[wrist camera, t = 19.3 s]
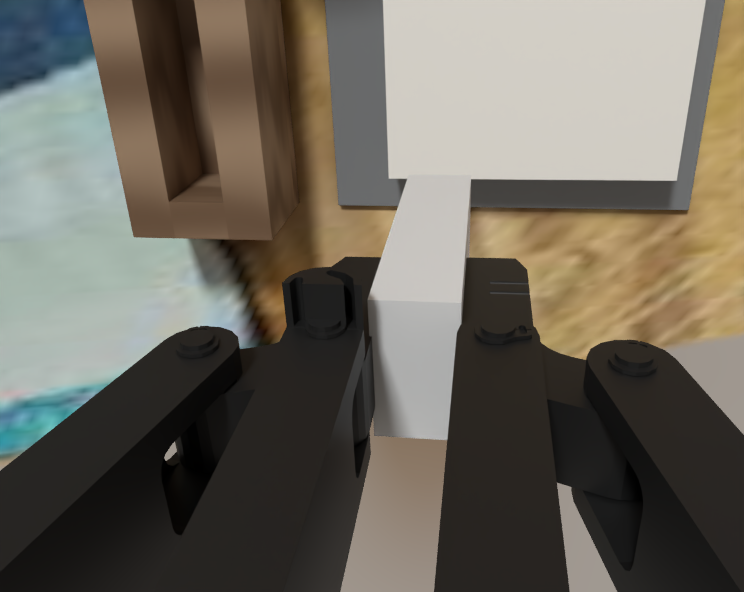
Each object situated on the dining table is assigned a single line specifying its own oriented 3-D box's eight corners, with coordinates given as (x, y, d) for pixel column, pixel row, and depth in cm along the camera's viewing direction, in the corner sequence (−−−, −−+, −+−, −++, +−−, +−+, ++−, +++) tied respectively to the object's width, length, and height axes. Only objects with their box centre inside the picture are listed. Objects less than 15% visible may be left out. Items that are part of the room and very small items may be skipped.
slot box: (299, 202, 43) (272, 240, 38) (176, 200, 45) (133, 237, 39) (271, -95, 36) (233, -99, 31) (125, -87, 37) (64, -90, 32)
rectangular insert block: (394, 165, 41) (666, 166, 39) (388, 178, 39) (676, 180, 36) (388, -46, 36) (700, -59, 34) (381, -44, 34) (715, -58, 31)
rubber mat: (686, 207, 40) (688, 209, 39) (339, 202, 43) (338, 204, 43) (743, -121, 32) (745, -122, 32) (319, -98, 36) (318, -98, 35)
